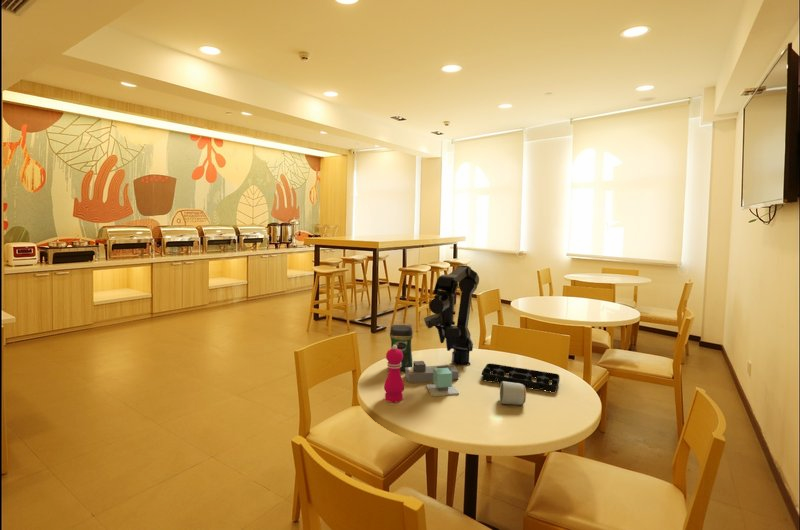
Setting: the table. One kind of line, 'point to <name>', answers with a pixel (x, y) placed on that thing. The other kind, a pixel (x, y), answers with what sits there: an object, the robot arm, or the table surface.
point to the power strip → (425, 372)
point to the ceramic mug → (512, 393)
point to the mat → (435, 392)
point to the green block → (442, 378)
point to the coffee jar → (402, 343)
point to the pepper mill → (394, 376)
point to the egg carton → (521, 376)
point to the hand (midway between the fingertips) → (445, 346)
